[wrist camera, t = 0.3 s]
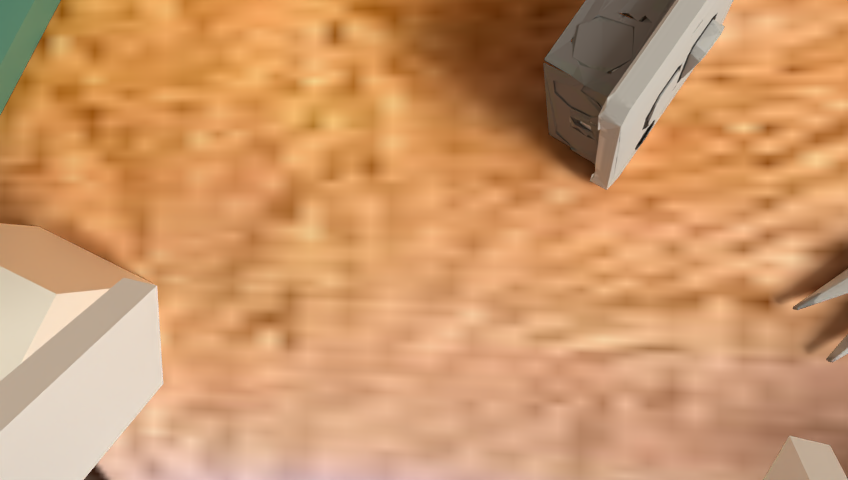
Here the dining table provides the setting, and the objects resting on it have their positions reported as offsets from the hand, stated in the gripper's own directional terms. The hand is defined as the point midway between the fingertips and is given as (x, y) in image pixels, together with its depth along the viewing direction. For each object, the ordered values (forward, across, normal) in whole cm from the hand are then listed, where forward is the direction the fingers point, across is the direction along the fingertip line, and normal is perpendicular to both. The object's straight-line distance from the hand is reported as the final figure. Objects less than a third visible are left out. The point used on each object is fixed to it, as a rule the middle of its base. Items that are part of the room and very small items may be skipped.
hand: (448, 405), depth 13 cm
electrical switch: (+21, -4, -2) cm, 22 cm away
